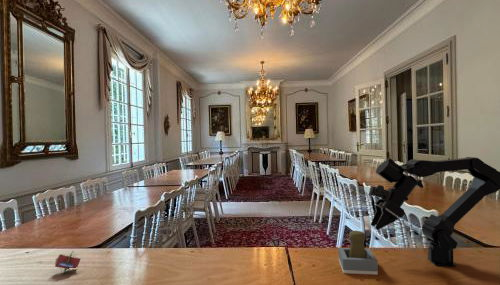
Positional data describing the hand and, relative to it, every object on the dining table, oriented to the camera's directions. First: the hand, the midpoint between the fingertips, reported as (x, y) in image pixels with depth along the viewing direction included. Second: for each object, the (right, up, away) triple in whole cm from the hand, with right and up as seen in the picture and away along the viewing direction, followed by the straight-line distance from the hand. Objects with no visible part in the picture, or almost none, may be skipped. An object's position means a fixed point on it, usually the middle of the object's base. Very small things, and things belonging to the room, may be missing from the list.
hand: (374, 227), depth 105 cm
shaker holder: (-7, -13, -2) cm, 15 cm away
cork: (-6, -12, -2) cm, 14 cm away
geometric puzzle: (-106, -15, 0) cm, 107 cm away
